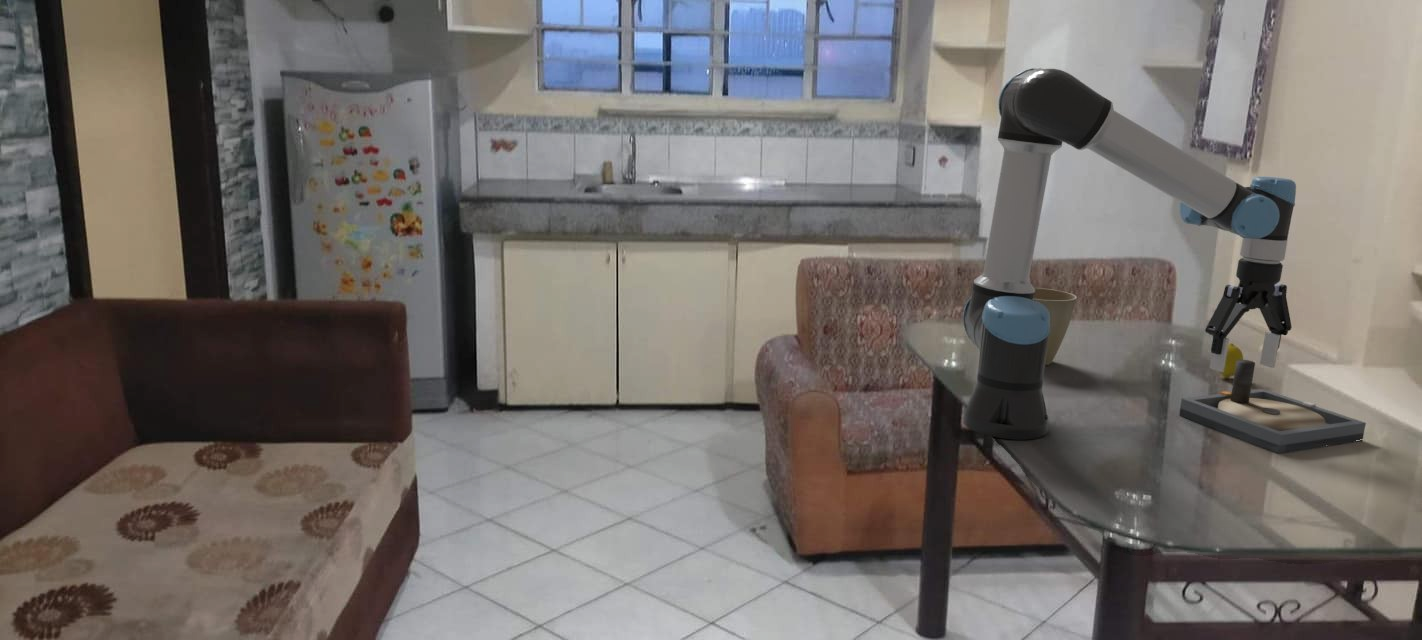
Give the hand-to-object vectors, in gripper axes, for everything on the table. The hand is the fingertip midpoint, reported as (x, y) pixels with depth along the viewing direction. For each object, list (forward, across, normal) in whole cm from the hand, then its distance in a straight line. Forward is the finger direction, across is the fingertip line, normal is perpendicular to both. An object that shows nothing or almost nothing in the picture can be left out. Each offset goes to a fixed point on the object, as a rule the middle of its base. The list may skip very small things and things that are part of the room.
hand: (1242, 368), depth 202 cm
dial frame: (+10, -1, +7) cm, 12 cm away
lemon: (+10, -22, -21) cm, 32 cm away
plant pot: (+11, +11, -45) cm, 47 cm away
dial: (+8, -1, +7) cm, 11 cm away
